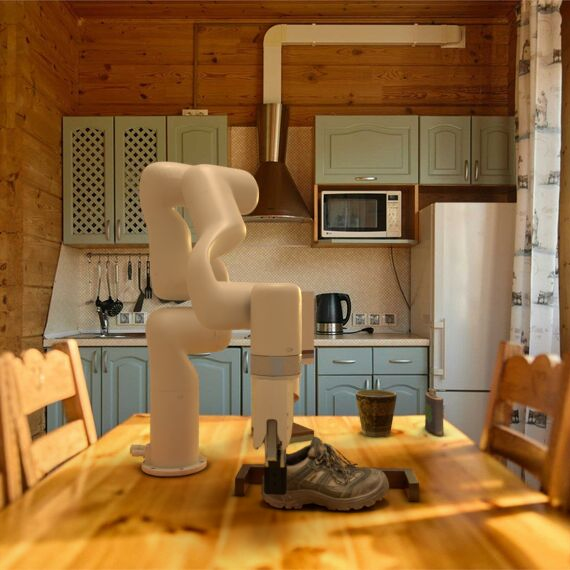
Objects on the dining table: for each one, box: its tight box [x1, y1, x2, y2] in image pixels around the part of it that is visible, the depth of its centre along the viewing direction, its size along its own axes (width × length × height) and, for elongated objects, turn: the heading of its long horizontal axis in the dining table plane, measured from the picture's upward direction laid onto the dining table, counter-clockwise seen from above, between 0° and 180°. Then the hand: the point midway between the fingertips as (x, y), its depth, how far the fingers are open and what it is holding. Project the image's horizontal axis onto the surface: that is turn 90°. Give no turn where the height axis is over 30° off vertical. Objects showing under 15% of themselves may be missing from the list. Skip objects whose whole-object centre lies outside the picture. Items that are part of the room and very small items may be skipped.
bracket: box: [234, 463, 420, 503], centre depth 94 cm, size 31×8×3 cm, turn 85°
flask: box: [424, 388, 445, 437], centre depth 135 cm, size 9×3×11 cm, turn 2°
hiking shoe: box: [260, 436, 390, 511], centre depth 89 cm, size 9×21×12 cm
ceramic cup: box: [355, 389, 398, 438], centre depth 132 cm, size 13×10×10 cm
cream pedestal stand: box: [250, 290, 315, 444], centre depth 130 cm, size 11×11×35 cm
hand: (275, 492), depth 79 cm, fingers closed
